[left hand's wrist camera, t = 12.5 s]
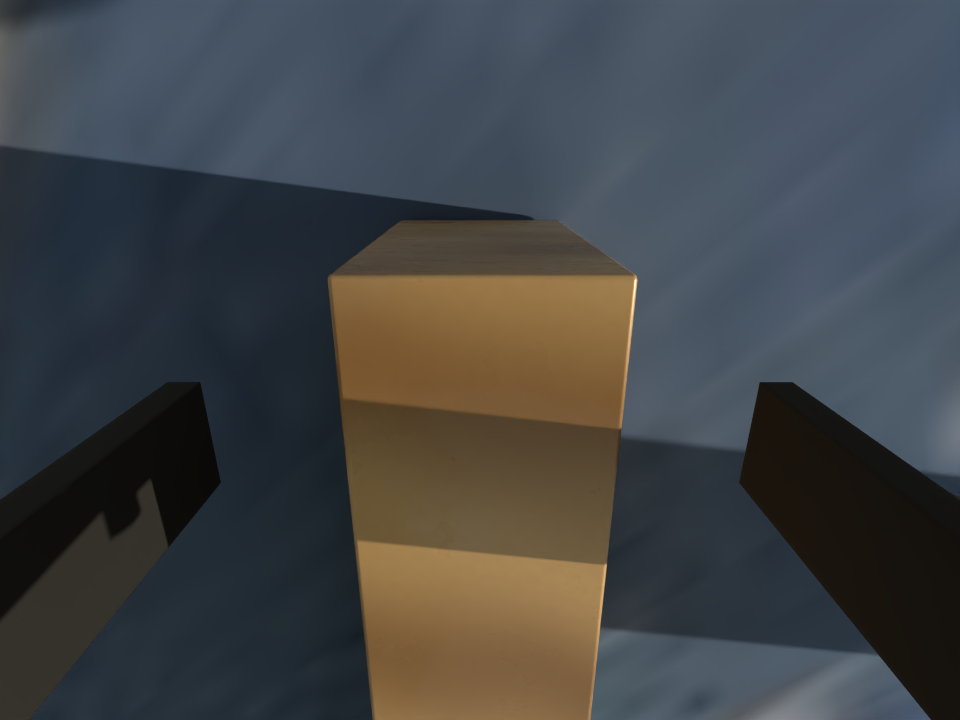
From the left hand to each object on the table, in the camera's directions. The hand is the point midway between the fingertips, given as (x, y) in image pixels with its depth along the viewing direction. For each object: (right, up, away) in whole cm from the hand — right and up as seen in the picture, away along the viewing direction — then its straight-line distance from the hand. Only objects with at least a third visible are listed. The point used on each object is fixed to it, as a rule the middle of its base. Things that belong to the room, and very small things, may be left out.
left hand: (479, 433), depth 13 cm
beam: (0, -33, +17) cm, 37 cm away
